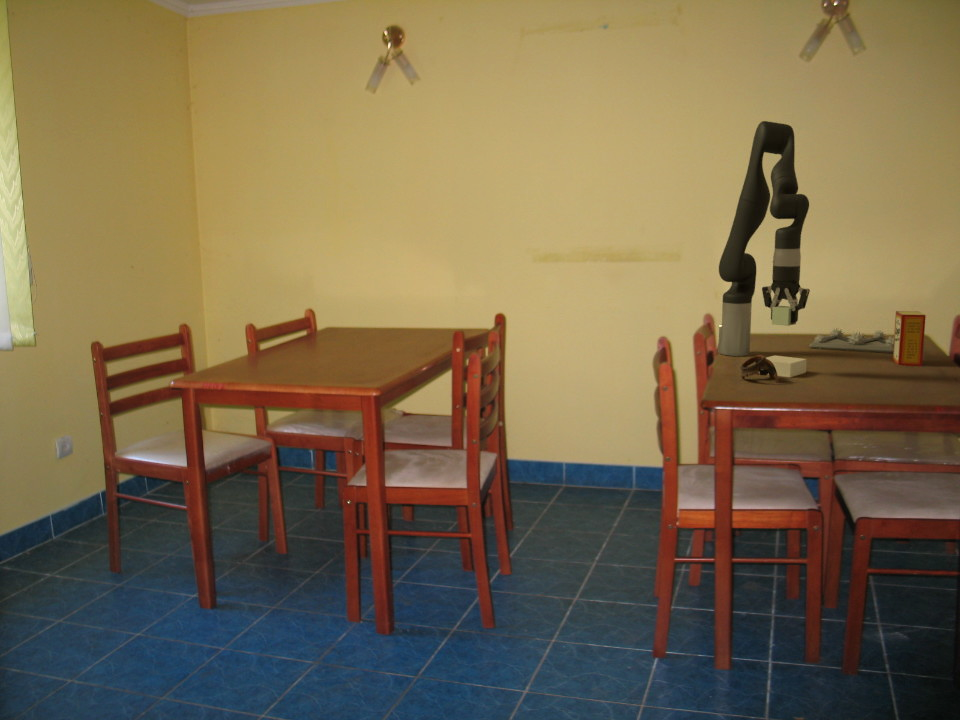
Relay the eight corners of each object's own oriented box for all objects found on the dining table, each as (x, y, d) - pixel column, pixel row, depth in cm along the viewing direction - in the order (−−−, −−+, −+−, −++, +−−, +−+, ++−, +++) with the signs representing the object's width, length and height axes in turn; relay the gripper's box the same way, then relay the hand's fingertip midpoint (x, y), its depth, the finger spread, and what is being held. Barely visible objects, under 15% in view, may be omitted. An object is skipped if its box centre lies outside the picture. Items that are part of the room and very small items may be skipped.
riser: (757, 373, 264) (758, 359, 263) (774, 368, 271) (774, 355, 270) (790, 377, 257) (790, 363, 256) (805, 372, 264) (806, 359, 263)
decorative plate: (908, 346, 311) (909, 326, 310) (904, 355, 292) (906, 334, 291) (817, 341, 325) (818, 322, 324) (808, 350, 307) (809, 329, 305)
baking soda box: (892, 360, 282) (895, 309, 279) (915, 360, 280) (918, 310, 278) (898, 365, 273) (902, 313, 270) (921, 366, 271) (925, 313, 269)
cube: (779, 322, 265) (780, 305, 264) (796, 324, 261) (796, 307, 260) (771, 324, 261) (772, 307, 260) (788, 325, 258) (788, 308, 257)
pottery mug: (779, 386, 247) (766, 361, 245) (748, 398, 252) (734, 374, 250) (783, 368, 257) (770, 344, 255) (752, 380, 262) (739, 356, 260)
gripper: (816, 264, 256) (813, 323, 259) (769, 262, 266) (767, 319, 269) (804, 266, 251) (801, 326, 253) (757, 264, 261) (754, 322, 263)
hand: (783, 322), depth 261 cm, fingers closed on cube, 5 cm apart
